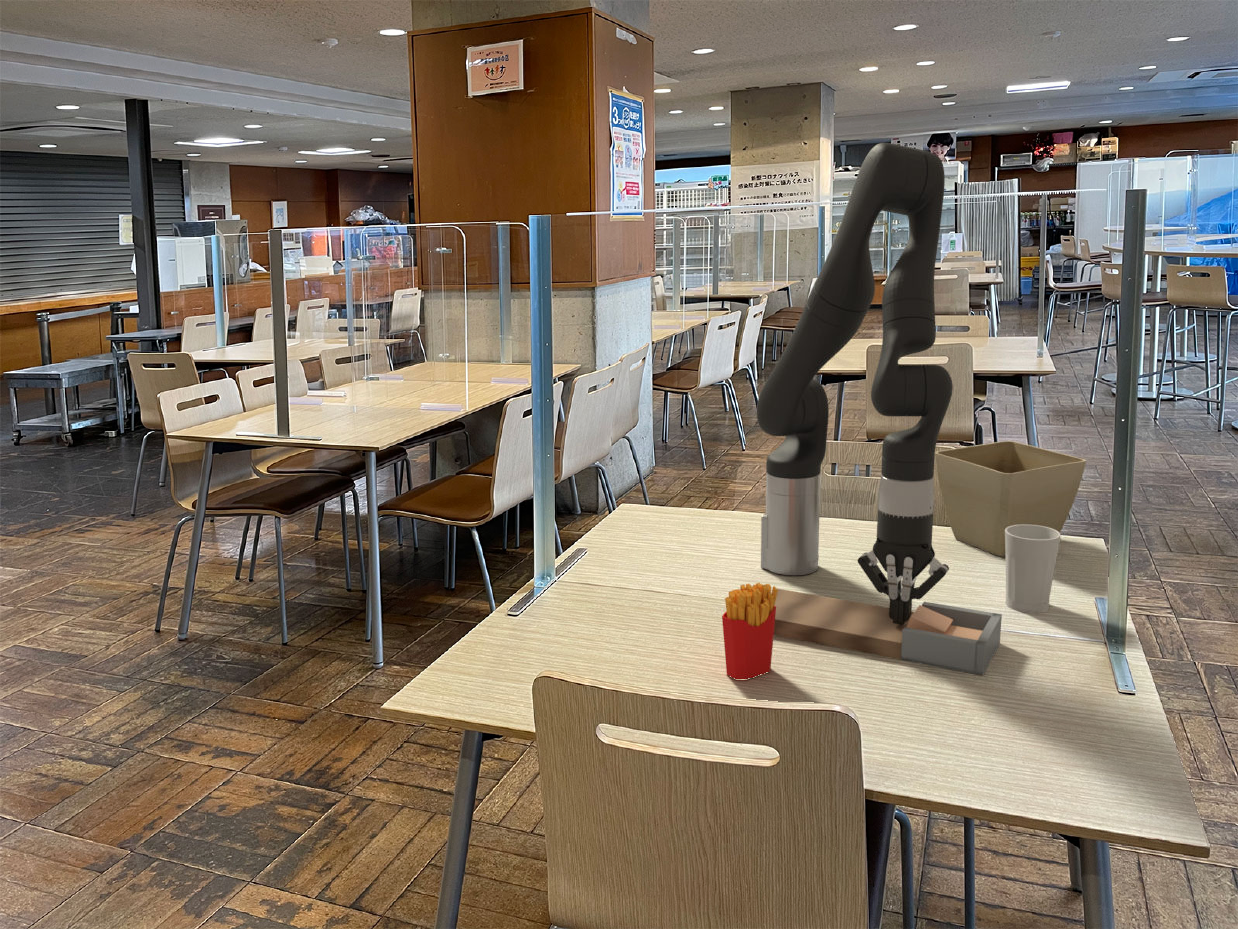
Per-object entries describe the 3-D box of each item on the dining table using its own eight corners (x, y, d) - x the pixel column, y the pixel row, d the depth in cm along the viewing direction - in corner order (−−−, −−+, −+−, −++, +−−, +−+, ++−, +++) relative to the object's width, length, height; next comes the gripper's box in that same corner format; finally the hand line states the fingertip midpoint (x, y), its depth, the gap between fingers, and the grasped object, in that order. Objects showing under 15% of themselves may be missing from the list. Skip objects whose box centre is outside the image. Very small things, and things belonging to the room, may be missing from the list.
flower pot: (1000, 566, 177) (1007, 472, 173) (927, 536, 194) (931, 450, 190) (1081, 550, 184) (1089, 460, 180) (1003, 523, 201) (1009, 440, 197)
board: (747, 629, 152) (747, 614, 152) (776, 603, 163) (777, 588, 162) (900, 659, 141) (901, 643, 141) (922, 629, 151) (923, 613, 151)
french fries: (736, 684, 135) (736, 599, 132) (716, 674, 138) (716, 591, 135) (782, 668, 139) (784, 585, 137) (763, 658, 143) (764, 577, 140)
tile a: (904, 631, 144) (910, 616, 143) (914, 619, 148) (919, 604, 147) (938, 647, 142) (944, 632, 141) (947, 634, 146) (953, 619, 145)
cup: (1059, 616, 155) (1065, 541, 152) (1004, 613, 157) (1009, 538, 154) (1048, 597, 163) (1054, 525, 160) (996, 594, 164) (1001, 523, 161)
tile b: (941, 654, 142) (942, 637, 141) (950, 641, 146) (950, 625, 145) (978, 661, 139) (979, 644, 139) (986, 648, 143) (987, 631, 143)
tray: (900, 659, 141) (902, 630, 140) (922, 629, 151) (924, 601, 150) (982, 675, 136) (985, 645, 135) (999, 643, 146) (1001, 614, 145)
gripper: (851, 507, 142) (846, 623, 146) (947, 519, 136) (940, 640, 140) (866, 494, 149) (862, 606, 153) (960, 505, 142) (952, 621, 146)
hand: (899, 622), depth 146 cm, fingers closed
